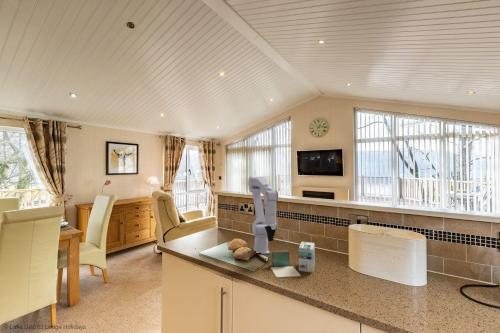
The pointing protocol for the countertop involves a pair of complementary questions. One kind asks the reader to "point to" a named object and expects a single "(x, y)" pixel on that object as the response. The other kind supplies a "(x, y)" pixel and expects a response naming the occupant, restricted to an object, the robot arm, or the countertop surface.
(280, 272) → the cream mat
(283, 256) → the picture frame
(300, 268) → the light bulb box
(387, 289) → the countertop surface
